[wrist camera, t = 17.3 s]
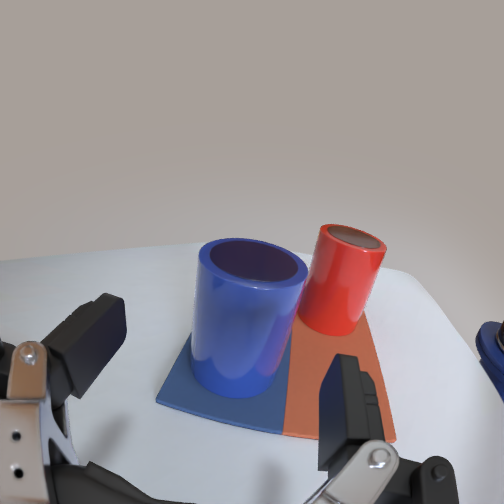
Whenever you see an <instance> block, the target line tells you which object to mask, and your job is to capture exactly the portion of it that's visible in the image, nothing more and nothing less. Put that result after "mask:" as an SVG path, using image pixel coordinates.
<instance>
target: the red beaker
mask: <svg viewBox="0 0 504 504" xmlns="http://www.w3.org/2000/svg"><path fill="white" fill-rule="evenodd" d="M386 250H387V247H386V245H385V244H384V243H383V242H382V241H381V240H379V239H378V238H376V237H374V236H372V235H370V234H368V233H366V232H364V231H361V230H358V229H355V228H352V227H348V226H343V225H335V224H327V225H323V226H321V228H320V231H319V235H318V239H317V243H316V246H315V250H314V253H313V257H312V261H311V264H310V268H309V271H308V277H307V280H306V284H305V287H304V291H303V294H302V297H301V301H300V304H299V307H298V315H299V317H300V319H301V320H302V321H303V322H304V323H305V324H306V325H307V326H308V327H310V328H311V329H313V330H315V331H317V332H319V333H322V334H325V335H330V336H345V335H348V334H350V333H352V332H353V331H354V330H355V329H356V327H357V324H358V322H359V320H360V317H361V315H362V313H363V310H364V308H365V306H366V303H367V301H368V298H369V296H370V293H371V291H372V288H373V286H374V283H375V280H376V278H377V275H378V272H379V270H380V267H381V264H382V261H383V259H384V256H385V253H386Z"/></svg>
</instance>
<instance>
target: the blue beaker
mask: <svg viewBox="0 0 504 504" xmlns="http://www.w3.org/2000/svg"><path fill="white" fill-rule="evenodd" d="M307 277H308V268H307V266H306V264H305V263H304V262H303V261H302V260H301V259H300V258H299V257H298V256H296V255H295V254H293V253H292V252H290V251H288V250H286V249H284V248H282V247H279V246H276V245H274V244H270V243H267V242H263V241H258V240H252V239H244V238H227V239H219V240H215V241H212V242H209V243H207V244H206V245H204V246H203V247H202V248H201V249H200V251H199V254H198V264H197V274H196V285H195V297H194V309H193V323H192V338H191V356H190V367H191V371H192V373H193V375H194V377H195V379H196V380H197V381H198V382H199V383H200V384H201V385H202V386H203V387H204V388H206V389H207V390H209V391H210V392H212V393H215V394H217V395H220V396H223V397H227V398H235V399H243V398H250V397H254V396H256V395H259V394H261V393H263V392H264V391H266V390H267V389H268V388H269V387H270V386H271V385H272V383H273V382H274V380H275V377H276V374H277V371H278V369H279V366H280V363H281V360H282V357H283V354H284V351H285V348H286V345H287V342H288V339H289V336H290V333H291V329H292V326H293V323H294V320H295V317H296V314H297V310H298V307H299V304H300V301H301V297H302V294H303V291H304V287H305V284H306V280H307Z"/></svg>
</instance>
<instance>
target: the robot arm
mask: <svg viewBox="0 0 504 504" xmlns="http://www.w3.org/2000/svg"><path fill="white" fill-rule="evenodd" d="M126 333H127V327H126V316H125V304H124V300H123V299H122V298H120V297H117V296H114V295H111V294H108V293H103V294H102V295H101V296H100V297H99V298H97V299H96V300H95V301H94V302H93V301H90V302H88V303H86V304H83V305H81V306H79V307H78V308H77V309H76V310H75V311H74V312H73V313H72V315H69V316H68V317H67V318H66V319H65V321H63V322H62V323H60V324H59V325H58V326H57V327H56V328H55V329H54V330H53V331H52V332H51V333H50V334H49V335H48V336H46V337H45V338H44V339H43V340H42V341H41V342H40V343H39V342H36V341H27V342H24V343H22V344H20V345H18V346H17V347H14V346H10V345H7V344H3V343H2V341H1V339H0V504H195V503H183V502H173V501H165V500H158V499H154V498H151V497H150V496H148V495H146V494H145V493H143V492H142V491H141V490H139V489H138V488H136V487H135V486H133V485H132V484H130V483H129V482H128V481H126V480H125V479H124V478H122V477H121V476H119V475H117V474H115V473H113V472H111V471H109V470H106V469H105V468H103V467H101V466H99V465H97V464H95V463H93V462H91V461H89V463H88V464H87V466H81V465H79V461H78V458H77V455H76V453H75V450H74V448H73V444H72V439H71V432H70V423H69V414H68V403H67V400H66V399H67V397H68V396H69V395H70V394H71V395H73V396H75V397H77V398H78V399H81V398H82V396H83V395H84V394H85V392H86V391H87V390H88V388H89V387H90V386H91V384H92V383H93V382H94V380H95V379H96V378H97V376H98V375H99V374H100V372H101V371H102V370H103V368H104V367H105V366H106V365H107V363H108V362H109V361H110V359H111V358H112V357H113V356H114V354H115V353H116V352H117V351H118V349H119V348H120V347H121V345H122V344H123V342H124V340H125V338H126ZM495 340H496V343H497V345H498V347H499V349H500V350H501V352H502V353H503V354H504V321H503V323H502V325H501V327H500V329H498V331H497V333H496V334H495ZM378 404H379V402H378V397H377V392H376V387H375V382H374V381H373V379H372V378H371V376H370V375H369V374H368V372H365V371H360V366H359V360H358V357H357V356H352V355H346V354H340V353H337V354H336V355H335V356H334V358H333V360H332V362H331V364H330V367H329V369H328V371H327V373H326V375H325V377H324V379H323V381H322V383H321V386H320V391H319V448H318V471H328V479H327V480H326V481H325V482H324V483H323V484H322V485H321V486H320V487H319V488H318V489H317V490H316V491H315V492H314V493H313V494H312V495H311V496H310V497H309V498H308V499H307V500H306V501H305V502H304V503H303V504H459V499H458V492H457V485H456V479H455V474H454V469H453V467H452V465H451V463H450V462H449V461H448V460H447V459H445V458H443V457H440V456H432V457H430V458H428V459H427V460H425V461H424V462H423V463H419V462H415V461H411V460H407V459H403V458H401V457H399V456H398V453H397V451H396V450H395V448H394V447H393V446H392V445H390V444H389V443H387V442H386V440H385V435H384V429H383V423H382V417H381V412H380V407H379V406H378Z"/></svg>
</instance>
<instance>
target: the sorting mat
mask: <svg viewBox="0 0 504 504" xmlns="http://www.w3.org/2000/svg"><path fill="white" fill-rule="evenodd" d="M191 338H192V332H191V334H190V336H189V338H188V339H187V341H186V343H185V345H184V347H183V349H182V350H181V352H180V354H179V356H178V358H177V360H176V362H175V363H174V365H173V367H172V369H171V371H170V373H169V375H168V377H167V378H166V380H165V382H164V384H163V386H162V388H161V390H160V392H159V393H158V395H157V397H156V402H157V403H160V404H163V405H166V406H169V407H172V408H175V409H178V410H181V411H184V412H187V413H190V414H194V415H197V416H201V417H204V418H208V419H211V420H215V421H219V422H223V423H227V424H231V425H235V426H240V427H244V428H249V429H254V430H259V431H264V432H269V433H275V434H282V435H288V436H295V437H302V438H310V439H319V391H320V386H321V383H322V381H323V379H324V377H325V375H326V373H327V371H328V369H329V367H330V364H331V362H332V360H333V358H334V356H335V355H336V354H337V353H340V354H346V355H352V356H357V357H358V360H359V366H360V371H365V372H368V374H369V375H370V376H371V378H372V379H373V381H374V382H375V387H376V392H377V397H378V402H379V404H378V406H379V407H380V412H381V417H382V423H383V429H384V435H385V440H386V442H387V443H394V442H395V441H396V434H395V429H394V424H393V419H392V415H391V410H390V406H389V401H388V397H387V392H386V388H385V384H384V380H383V376H382V372H381V368H380V365H379V361H378V357H377V353H376V350H375V346H374V343H373V339H372V336H371V332H370V329H369V326H368V322H367V319H366V316H365V313H364V310H363V313H362V315H361V317H360V320H359V322H358V324H357V327H356V329H355V330H354V331H353V332H352V333H350V334H348V335H345V336H330V335H325V334H322V333H319V332H317V331H315V330H313V329H311V328H310V327H308V326H307V325H306V324H305V323H304V322H303V321H302V320H301V319H300V317H299V315H298V310H297V314H296V317H295V320H294V323H293V326H292V329H291V333H290V336H289V339H288V342H287V345H286V348H285V351H284V354H283V357H282V360H281V363H280V366H279V369H278V371H277V374H276V377H275V380H274V382H273V383H272V385H271V386H270V387H269V388H268V389H267V390H266V391H264V392H263V393H261V394H259V395H256V396H254V397H250V398H243V399H235V398H227V397H223V396H220V395H217V394H215V393H212V392H210V391H209V390H207V389H206V388H204V387H203V386H202V385H201V384H200V383H199V382H198V381H197V380H196V379H195V377H194V375H193V373H192V371H191V367H190V356H191Z"/></svg>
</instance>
